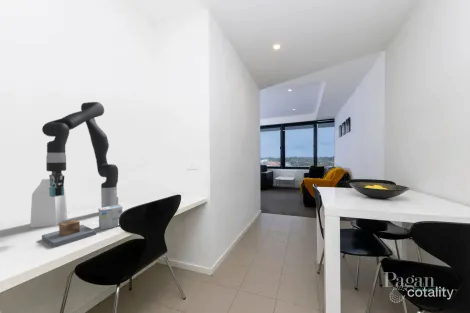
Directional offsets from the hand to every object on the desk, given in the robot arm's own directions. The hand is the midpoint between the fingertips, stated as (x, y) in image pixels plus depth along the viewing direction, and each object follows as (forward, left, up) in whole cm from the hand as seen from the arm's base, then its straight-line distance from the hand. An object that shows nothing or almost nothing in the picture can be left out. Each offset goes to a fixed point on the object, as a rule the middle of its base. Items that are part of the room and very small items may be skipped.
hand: (56, 194), depth 101 cm
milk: (-3, -23, -20) cm, 31 cm away
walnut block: (-1, +12, -18) cm, 21 cm away
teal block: (0, 0, 0) cm, 0 cm away
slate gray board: (-1, +12, -20) cm, 23 cm away
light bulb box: (-19, +14, -20) cm, 31 cm away
